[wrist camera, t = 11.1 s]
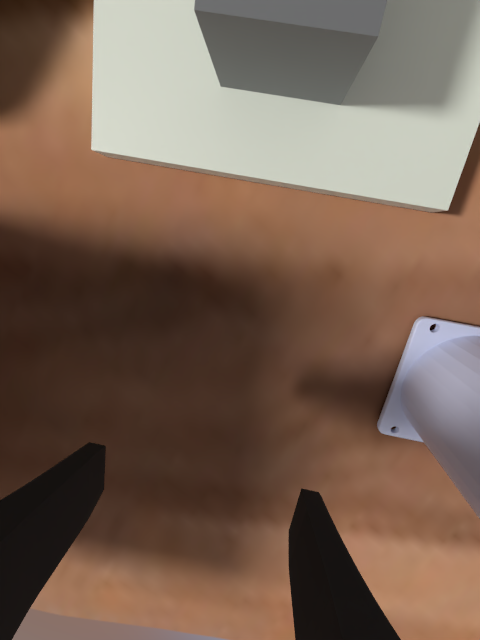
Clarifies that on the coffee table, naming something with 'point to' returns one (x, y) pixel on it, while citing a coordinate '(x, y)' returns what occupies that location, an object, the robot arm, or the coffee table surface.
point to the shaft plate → (294, 106)
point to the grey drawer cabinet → (290, 44)
